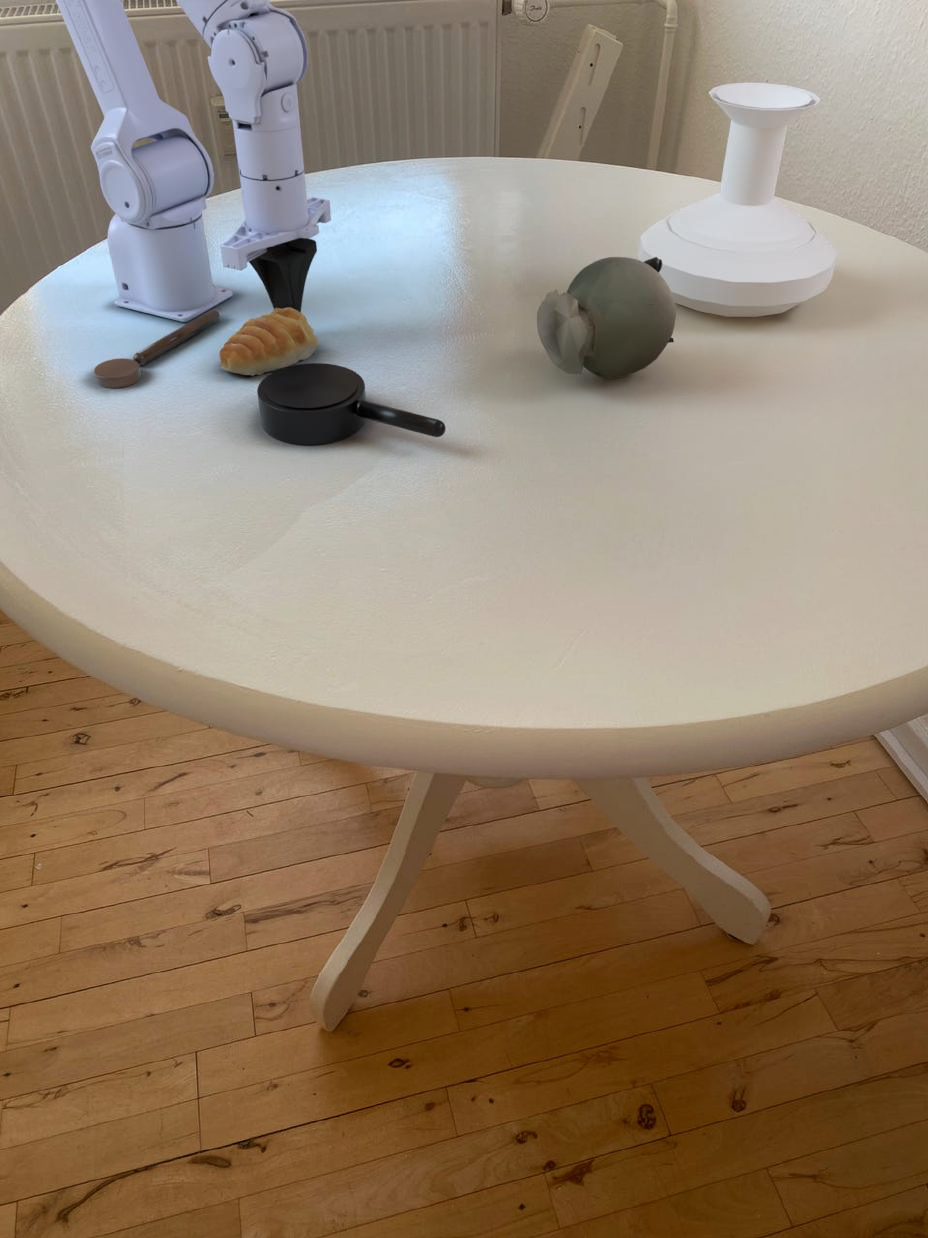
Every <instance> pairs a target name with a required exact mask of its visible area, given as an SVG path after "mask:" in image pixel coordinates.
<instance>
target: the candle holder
mask: <svg viewBox="0 0 928 1238" xmlns="http://www.w3.org/2000/svg"><path fill="white" fill-rule="evenodd" d="M708 94H709V96H710V98H711V99H712V100H713V101H714V102H715V103H716V104H717V106H718V107H719V108H720V109H721V110H722V111H723V112H724V114H726V116H727V117H729V119H730V124H729V129H728V137H727V141H726V142H727V143H726V147H725V148H726V149H725V155H724V161H723V167H722V168H723V169H722V173H721V180H720V186H719V192H717V193H715V194H712V195H710V196H707V197H705V198H703V199H700V200H699V201H696V202H694V203H691V204H688V205H685V206H684V207H682V208H680V209H676V210H674V211H672V212H670V214H668V215H667V216H664V218H662V219H660V220H658V221H656V222H655V223H653V224H652V225H651V226H649V228H647V229H646V230H645V231H644V232H643V233H642V234H641V236H639V243H638V254H637V260H640V261H642V262H644V261H646V260H649V259H652V258H655V257H657V258H658V259H661V260H662V268H661V270H660V272H659V274H660V275H661V276H662V277H663V279H664V280H665V281H666V283H667V284H668V286H669V288H670V290H671V293H672V295H673V299H674V302H675V304H678V305H681V306H683V307H686V308H689V309H691V310H695V311H697V312H701V313H706V314H712V315H717V316H720V317H721V316H722V317H728V318H729V317H730V318H731V317H735V318H737V317H738V318H741V317H742V318H746V317H747V318H758V317H765V316H771V315H778V314H782V313H784V312H786V311H789V310H790V309H792V308H795V307H796V306H798V305H801V304H802V303H804V302H806V301H807V300H810V299H812V298H813V297H815V296H817V295H819V294H821V293H823V292H825V291H826V290H827V287H828V286H829V284H830V282H831V281H832V279H833V277H834V271H835V268H836V263H837V259H838V254H839V253H838V252H837V251H836V249H835V248H834V247H833V245H832V243H830V241H829V240H828V239H827V238H826V237H825V236H824V235H823V234H822V233H821V232H820V231H819V230H818V229H817V228H816V227H815V226H814V225H813V224H812V222H810V221H808V220H806V219H805V218H804V217H803V216H802V215H800V214H799V213H797V212H796V211H794V210H793V209H792V208H790V207H789V206H787V205H786V204H784V203H783V202H781V201H780V200H778V198H776V197H775V193H776V189H777V188H776V187H777V183H778V177H779V172H780V168H781V167H780V166H781V162H782V156H783V152H784V146H785V141H786V136H787V130H788V124H790V123H791V122H793V121H794V120H795V119H797V118H799V117H800V116H801V115H803V114H804V113H806V112H807V111H809V110H811V109H812V108H814V107H815V106H816V105H817V104H819V102H820V101H821V98H820V97H819V96H818V95H817V94H816V93H814V92H811V91H809V90H808V89H804V88H801V87H796V86H793V85H792V86H790V85H786V84H779V83H769V82H736V83H726V84H722V85H719V86H718V85H717V86H715V87H713V88H711V90H710V91H708Z"/></svg>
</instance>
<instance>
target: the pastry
mask: <svg viewBox="0 0 928 1238" xmlns="http://www.w3.org/2000/svg"><path fill="white" fill-rule="evenodd" d="M318 346H319V338H318V336H317V335H316V333H315V331H314V328H313V327H312V326H311V325H310V323H309V322H308V320H307V318H306V316H305V314H303V313H302V312H301V313H300V312H299V311H298V310H295V309H293V308H291V307H288V308H284V309H280V308H275V309H274V308H273V311H271V312H270V313H269V314H268V313H267V314H263V315H260V316H258V317H255V318H250V319H249V320H247V321H245V322H244V323H243V324H242V326H241V327H240V329H239V330H237V331H236V332H235V334H234V335H231V336H230V337H229V338H228V340H227V341H226V342H225V343H224V344H223V347H221V349H220V350H219V360H220V364H219V366H220V369H221V370H224V371H226V372H229V373H233V374H238V375H243V376H251V377H254V376H256V375H257V376H262V375H264V374H265V373H268V372H275V371H277V370H280V369H283V368H286V367H289V366H293V365H296V364H297V363H298V362H299V361H300V360H303V361H305V360H307V359H308V358H310V357H312V355H313V354H314V353H315V351H316V349H317V348H318Z"/></svg>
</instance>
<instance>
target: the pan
mask: <svg viewBox="0 0 928 1238" xmlns="http://www.w3.org/2000/svg"><path fill="white" fill-rule="evenodd" d="M256 394H257V400H258V401H257V402H258V408H259V415H260V423H261V426H262V429H263V430H264V432H266V434H268V435H269V436H270V437H272V438H274V439H275V440H278V441H280V442H284V443H287V444H292V445H298V446H299V445H300V446H318V445H327V444H331V443H337V442H339V441H342V440H345V439H347V438H349V437H351V436H353V435H355V434H356V433H358V432H359V431H360V430H361V429H363V427H364V426H365V424H366V421H367V420H369V421H373V422H377V423H381V424H385V425H389V426H392V427H396V428H400V429H404V430H408V431H411V432H414V433H417V434H422V435H426V436H430V437H433V438H440V437H442V436H443V435H444V434H445V433H446V424H445V423H444V421H442V420H441V419H437V418H433V417H429V416H426V415H421V414H419V413H414V412H411V411H407V410H402V409H400V408H395V407H392V406H388V405H383V404H380V403H376V402H373V401H369V400H367V397H366V396H367V395H366V384H365V380H364V379H363V377H362V376H361V375H360V374H359V373H358V372H356V371H355V370H352V369H351V368H348V367H346V366H342V365H337V364H333V363H324V362H323V363H322V362H310V363H309V362H308V363H300V364H299V363H298V364H293V365H290V366H288V367H283V368H281V369H278V370H276V371H272V372H271V373H270V374H268V375H266V376H265V377H264V378H263V379H262V380H261V381H260V383H258V386H257V390H256Z"/></svg>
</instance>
